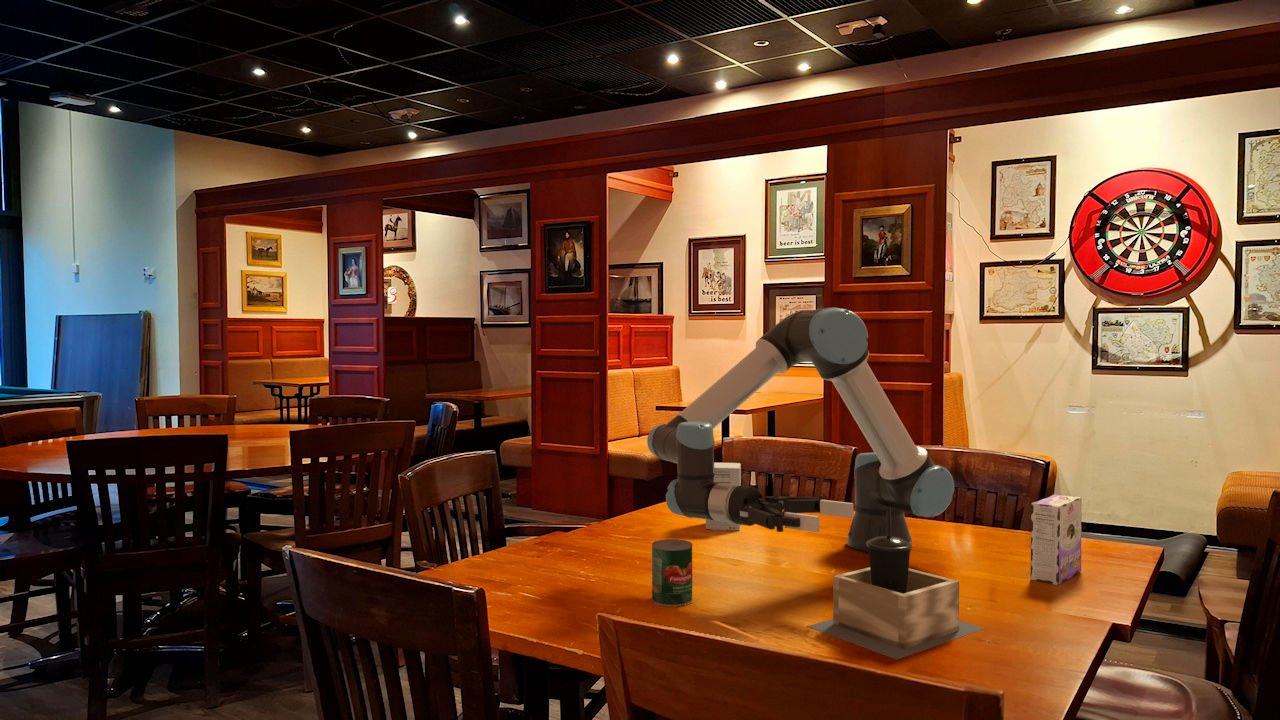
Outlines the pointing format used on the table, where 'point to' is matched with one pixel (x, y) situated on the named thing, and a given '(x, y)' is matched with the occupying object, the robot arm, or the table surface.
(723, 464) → the supplement box
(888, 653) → the mat
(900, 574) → the drinking cup
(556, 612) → the table surface
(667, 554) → the canned tomato
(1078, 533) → the candy box
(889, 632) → the holder
